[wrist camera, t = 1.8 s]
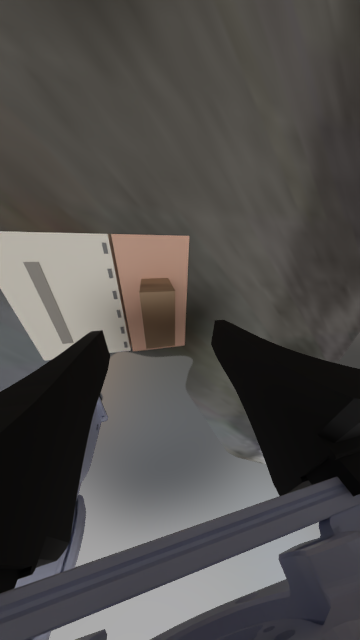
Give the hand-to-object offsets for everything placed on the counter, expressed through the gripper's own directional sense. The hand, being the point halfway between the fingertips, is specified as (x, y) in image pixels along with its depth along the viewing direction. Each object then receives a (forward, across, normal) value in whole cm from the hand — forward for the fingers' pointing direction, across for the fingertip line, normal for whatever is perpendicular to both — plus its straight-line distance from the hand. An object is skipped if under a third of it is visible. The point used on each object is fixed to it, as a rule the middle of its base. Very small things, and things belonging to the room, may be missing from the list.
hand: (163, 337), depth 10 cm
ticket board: (+8, +8, 0) cm, 11 cm away
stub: (+8, 0, 0) cm, 8 cm away
